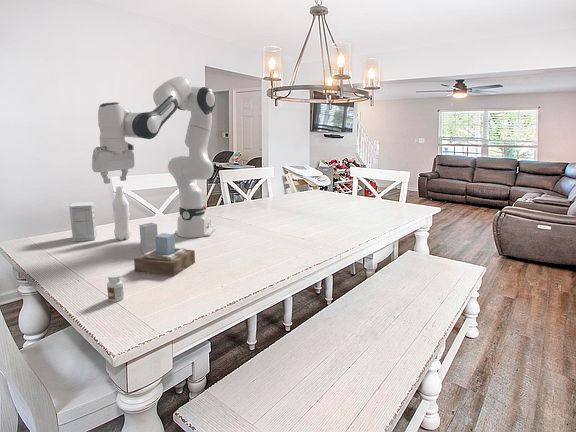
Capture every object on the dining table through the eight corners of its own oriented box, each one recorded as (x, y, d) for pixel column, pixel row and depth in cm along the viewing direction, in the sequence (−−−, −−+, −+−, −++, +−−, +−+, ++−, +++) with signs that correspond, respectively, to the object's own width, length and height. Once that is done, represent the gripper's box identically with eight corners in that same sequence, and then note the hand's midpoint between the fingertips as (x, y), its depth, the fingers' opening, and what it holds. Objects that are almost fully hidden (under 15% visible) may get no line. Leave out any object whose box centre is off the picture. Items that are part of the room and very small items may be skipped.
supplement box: (97, 235, 187) (94, 201, 184) (95, 240, 179) (92, 205, 175) (75, 236, 184) (71, 202, 180) (72, 241, 175) (68, 205, 172)
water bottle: (131, 240, 180) (127, 187, 175) (114, 241, 178) (110, 188, 172) (131, 236, 187) (127, 185, 181) (115, 237, 184) (111, 186, 179)
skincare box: (153, 248, 168) (152, 222, 166) (158, 250, 166) (157, 224, 163) (140, 251, 164) (139, 224, 161) (145, 254, 161) (144, 226, 158)
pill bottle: (105, 299, 117) (103, 275, 116) (119, 294, 121) (117, 271, 119) (112, 303, 115) (111, 279, 113) (126, 298, 118) (125, 275, 116)
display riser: (159, 258, 156) (158, 243, 155) (194, 262, 152) (194, 247, 151) (134, 271, 141) (133, 255, 139) (173, 276, 137) (173, 260, 136)
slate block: (163, 251, 148) (162, 233, 147) (174, 253, 147) (174, 234, 146) (156, 255, 144) (155, 236, 142) (168, 256, 142) (167, 237, 141)
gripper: (100, 147, 135) (103, 185, 138) (136, 145, 155) (138, 179, 158) (85, 146, 137) (89, 184, 140) (122, 145, 156) (125, 178, 159)
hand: (115, 182), depth 149 cm, fingers open, 8 cm apart
